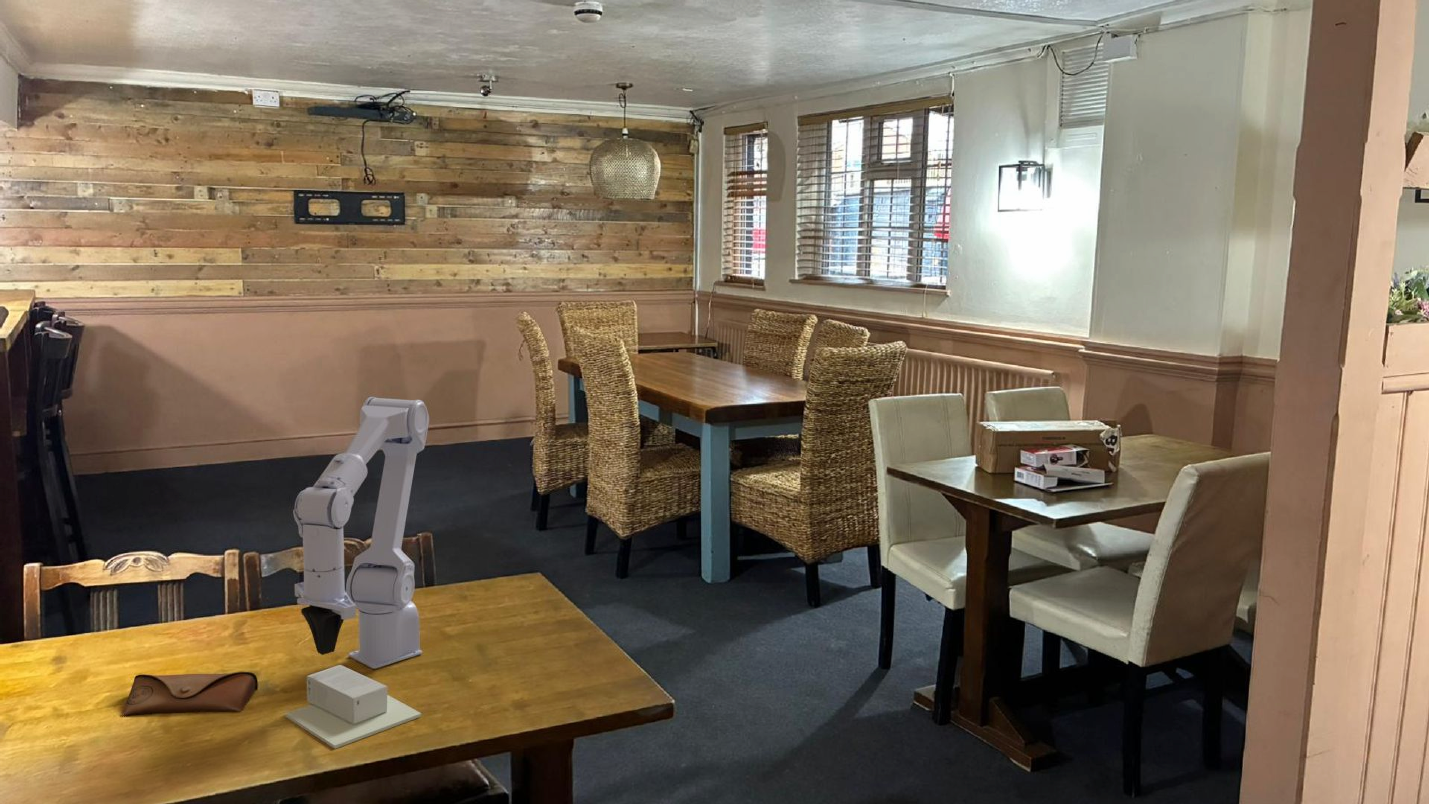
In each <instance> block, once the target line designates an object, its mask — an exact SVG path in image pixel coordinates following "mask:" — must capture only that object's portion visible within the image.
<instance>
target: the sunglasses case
mask: <svg viewBox="0 0 1429 804" xmlns="http://www.w3.org/2000/svg"><path fill="white" fill-rule="evenodd" d="M258 681H259V680H258V677H257V675H256V674H255V673H254V672H252V671H251V672H250V671H237V672H231V673H184V674H164V675H163V674H162V675H156V674H155V675H154V674H145V673H144V674H137V675H135V676H134V680H133V682H132V685H131V688H130V691H129V694H128V698H127V700H126V702H125V705H124V708H123V710H122V712H121V714H122V715H121V714H119V717H120V718H123V716H124V718H125V716H126V717H134V716H147V715H148V716H149V715H166V714H168V715H169V714H170V715H171V714H189V713H191V714H192V713H227V712H228V713H242V712H243V711H245V707H246V706H247V704H248V703H249V702H250V700H251V699H252V697H253V695H254V694H255V692H256V691H258V689H259V688H258V687H259V682H258Z"/></svg>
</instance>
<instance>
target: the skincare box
mask: <svg viewBox="0 0 1429 804" xmlns="http://www.w3.org/2000/svg"><path fill="white" fill-rule="evenodd" d="M387 695H388V686H387V685H385V684H382V682H378V681H376V680H375V679H372V678H370V677H368V676H366V675H363V674H362V673H359V672H357V671H354V670H352V669H351V668H348V667H346V666H344V665H341V664H338V665H335V666H332V667H329V668H326V669H324V670H321V671H318V672H314V673H312V674H309V675H306V701H307V702H308V703H310V704H311V705H312V704H314V705H316V706H318V707H320V708H322V709H324V710H326V711H328V712H330V713H332V714H334V715H336V716H338V717H340V718H342V719H344V720H346V721H348V722H350V723H352V724H354V725H355V724H357V723H359V722H362V721H364V720H367V719H369V718H372V717H374V716H377V715H379V714H382V713H384V712H387Z"/></svg>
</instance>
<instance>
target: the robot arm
mask: <svg viewBox="0 0 1429 804" xmlns="http://www.w3.org/2000/svg"><path fill="white" fill-rule="evenodd" d="M429 424H430V415H429V412H428V407H427V405H426V404H425V402H424V401H423V400H421V399H414V400H413V399H412V400H411V399H398V398H384V397H382V398H379V397H376V396H369V397H368V398H367V399H365V401H364V402H363V403H362V407H361V408H360V412H359V425H360V426H359V428H358V429H357V431H356V433H355V435H354V436H353V439H352V440H351V442H350V445H348V448H347V450H346V451H345V452H344V453H343V452H341V453H337V454H336V455H334V457H333V458H332V459H331V460H330V462H329V464H328V465H327V466H326V468H325V470H324V471H323V472H322V473H321V475H320V476H319V478H318V479H317V480H316V482H315V483H314V484H313V486H309V487H306V488H305V489H303V490H301V491H300V492H299V493H298V495H297V497H296V499H295V502H294V509H293V510H292V511H293V518H294V521H295V523H296V524H297V527H298V535H299V537H300V538H302V549H303V551H302V553H303V555H302V556H303V581H302V582H298V583H294V596H295V597H297V599H296V600H297V601H296V603H297V604H298V605H300V606H302V607H303V608H301V609H300V612H301V614H302V616H303V618H304V619H305V620H306V622H307V624H308V627H309V629H310V631H311V635H312V638H313V642H314V644H315V648H316V651H317V653H318V654H319V655H321V656H324V655H327V654H331V653H334V652H335V649H336V647H337V641H338V638H339V634H340V632H341V628H342V625H343V623H344V621H348V620H351V619H355V618H357V610H358V645H359V646H358V647H359V648H358V649H357V650H355V651H351V652H349V653H348V656H349V657H350V658H352V659H353V660H356V661H357V662H359V663H361V664H364V665H365V666H367V667H369V668H371V669H378V668H383V667H385V666H388V665H390V664H394V663H397V662H400V661H403V660H407V659H410V658H413V657H416V656H420V655H422V654H423V650H421V649H420V646H421V645H420V616H419V614H420V613H419V610H418V609H417V606H416V605H415V603H414V602H413V601H412V599H413V596H414V592H415V588H416V587H415V585H416V584H415V582H416V581H415V563H414V562H413V561H412V560H411V559H410V558H409V557H408V556H407V555H406V554H405V553H404V551H403V550H402V545H403V539H404V532H405V527H406V520H407V515H408V509H409V508H408V507H409V504H410V503H409V502H410V497H411V490H412V486H413V485H412V483H413V478H414V473H415V472H414V471H415V466H416V465H415V464H416V460H417V454H419V453H420V452H422V451H423V450H424V449H425V446H426V442H427V441H426V440H427V435H428V429H429ZM379 449H380V450H381V451H382V452H383V454H384V456H385V457H384V462H383V463H384V465H383V469H382V470H383V471H382V475H381V481H380V487H379V493H378V494H379V495H378V497H377V505H376V510H375V511H376V512H375V515H374V516H375V517H374V523H373V529H372V534H371V535H372V536H371V539H370V540H371V541H370V546H369V547H368V548H367V549H365V550H364V551H363V552H361V553H359V554H358V555H357V556H355V557H354V560H353V562H352V563H353V564H352V568H351V570H350V572H349V574H348V576H347V578H346V579H347V580H346V584H345V549H344V548H345V545H344V544H345V543H344V542H345V541H344V540H345V539H344V538H345V537H344V526H345V525H346V524H347V522H348V521H349V519H350V517H351V516H350V515H351V513H352V507H353V505H354V501H355V499H354V496H355V494H356V493H357V492H358V490H359V489H360V487H361V485H362V484H363V483H364V481H365V479H366V478H367V476H368V467H367V463H369V461H370V460H371V459H372V458H373V456H374V455H375V454H376V453H377V452H378V450H379ZM374 566H375V567H374ZM376 566H385V567H384V568H383V567H376ZM386 567H387V568H386ZM388 567H394V568H396V569H394V568H388ZM345 586H346V587H345ZM305 606H306V607H305Z"/></svg>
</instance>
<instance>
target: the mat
mask: <svg viewBox="0 0 1429 804" xmlns="http://www.w3.org/2000/svg"><path fill="white" fill-rule="evenodd" d="M284 717H285V718H287V719H288V720H289V721H291V722H293V723H294V724H296V725H297V726H299V727H301V728H302V729H303V730H306V732H308V733H310V734H311V735H312V736H314V737H315V738H317V739H319V740H321V741H322V742H323V743H325V744H327V745H328V746H329V747H331V748H333V749H336V750H337V749H338V748H341V747H344V746H347V745H350V744H351V743H354V742H357V741H360V740H362V739H364V738H368V737H370V736H373V735H376V734H378V733H381V732H385V731H386V730H389V729H392V728H394V727H397V726H400V725H403V724H405V723H408V722H411V721H412V720H416V719H419V718H421V717H422V713H421V712H420V711H418V710H416V709H414V708H412V707H410V706H409V705H407V704H405V703H403V702H401V701H399V700H397V699H396V698H394V697H392V696H391V695H389V694H387V712H384V713H382V714H379V715H377V716H374V717H372V718H369V719H367V720H364V721H362V722H359V723H357V724H355V725H354V724H352V723H350V722H348V721H346V720H344V719H342V718H340V717H338V716H336V715H334V714H332V713H330V712H328V711H326V710H324V709H322V708H320V707H318V706H316V705H314V704H312V703H311V704H309V705H307V706H303V707H300V708H297V709H295V710H291V711H289V712H285V713H284Z"/></svg>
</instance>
